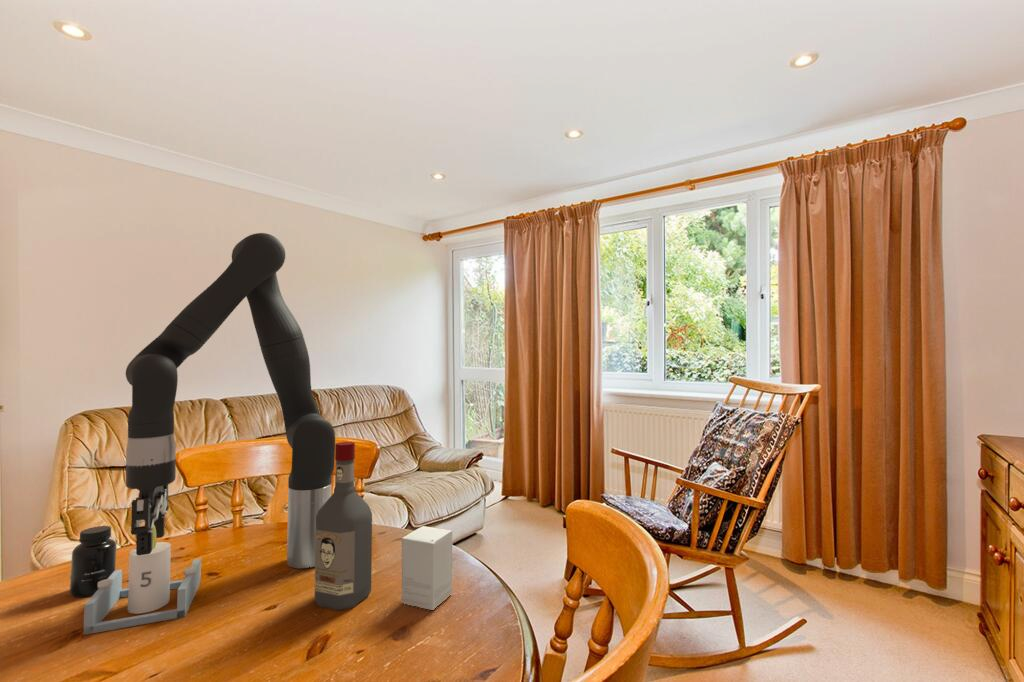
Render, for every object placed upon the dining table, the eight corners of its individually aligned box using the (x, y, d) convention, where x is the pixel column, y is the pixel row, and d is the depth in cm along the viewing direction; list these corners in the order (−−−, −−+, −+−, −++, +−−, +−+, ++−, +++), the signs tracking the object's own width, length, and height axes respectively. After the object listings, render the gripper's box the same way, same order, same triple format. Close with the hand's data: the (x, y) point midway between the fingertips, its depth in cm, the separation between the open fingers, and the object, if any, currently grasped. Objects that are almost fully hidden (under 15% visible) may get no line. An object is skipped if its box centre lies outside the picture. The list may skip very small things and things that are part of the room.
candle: (123, 617, 86) (125, 533, 87) (132, 600, 92) (134, 522, 92) (165, 609, 89) (168, 527, 89) (172, 593, 95) (174, 517, 95)
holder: (202, 582, 100) (203, 554, 100) (187, 616, 87) (188, 583, 87) (111, 596, 93) (112, 566, 94) (80, 635, 81) (81, 600, 81)
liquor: (339, 583, 99) (341, 438, 100) (377, 590, 96) (378, 441, 97) (307, 605, 91) (309, 446, 92) (347, 613, 88) (349, 449, 89)
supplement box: (453, 594, 95) (454, 530, 95) (432, 612, 88) (432, 543, 88) (422, 587, 98) (423, 524, 98) (399, 604, 91) (400, 537, 92)
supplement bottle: (88, 600, 92) (90, 537, 93) (60, 596, 94) (62, 534, 94) (124, 583, 99) (125, 525, 99) (97, 580, 100) (99, 522, 101)
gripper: (165, 465, 86) (165, 556, 85) (183, 450, 99) (183, 529, 98) (113, 470, 83) (112, 564, 82) (138, 454, 96) (138, 535, 95)
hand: (151, 545), depth 90 cm, fingers open, 8 cm apart
